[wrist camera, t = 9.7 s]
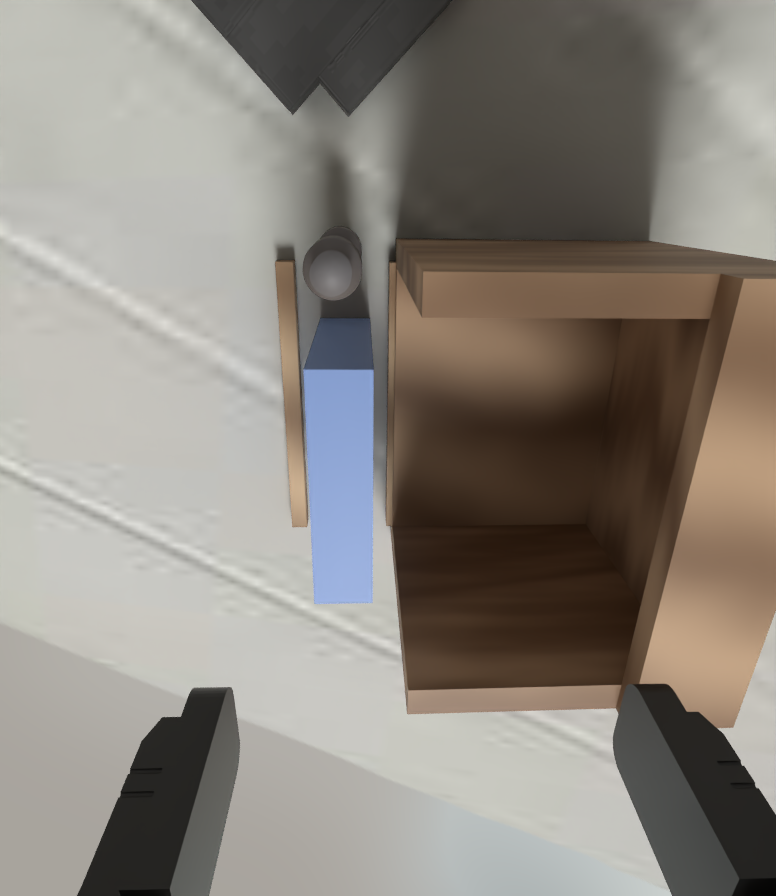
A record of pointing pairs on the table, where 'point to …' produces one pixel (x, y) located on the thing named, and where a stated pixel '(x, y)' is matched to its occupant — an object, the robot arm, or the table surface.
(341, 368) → the blue rectangular block
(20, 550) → the table surface
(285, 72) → the abstract sculpture
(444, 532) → the cabinet
